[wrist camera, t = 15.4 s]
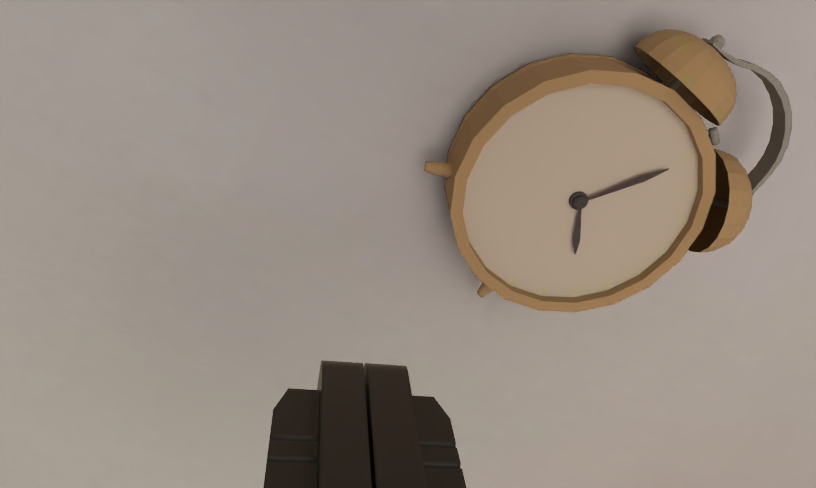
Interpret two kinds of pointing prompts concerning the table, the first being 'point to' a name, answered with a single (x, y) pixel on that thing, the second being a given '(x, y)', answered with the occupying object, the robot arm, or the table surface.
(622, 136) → the alarm clock
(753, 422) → the table surface
